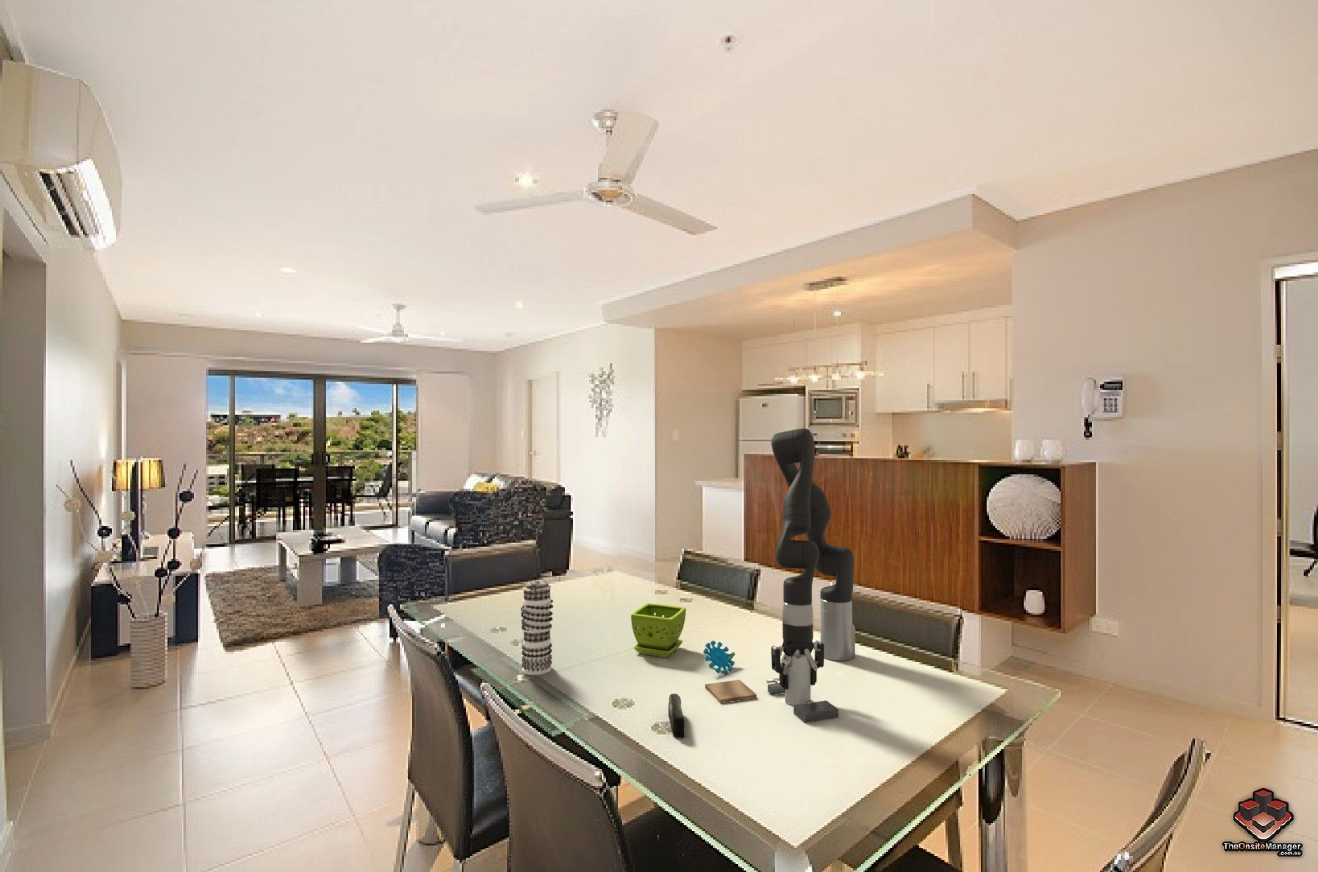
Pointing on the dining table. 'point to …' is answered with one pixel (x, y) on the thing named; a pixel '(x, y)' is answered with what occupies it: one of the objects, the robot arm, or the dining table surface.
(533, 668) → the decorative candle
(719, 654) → the gear
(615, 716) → the dining table surface
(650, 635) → the flower pot
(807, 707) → the dark grey blocks
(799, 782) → the dining table surface
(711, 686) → the coaster
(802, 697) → the skincare box
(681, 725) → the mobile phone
